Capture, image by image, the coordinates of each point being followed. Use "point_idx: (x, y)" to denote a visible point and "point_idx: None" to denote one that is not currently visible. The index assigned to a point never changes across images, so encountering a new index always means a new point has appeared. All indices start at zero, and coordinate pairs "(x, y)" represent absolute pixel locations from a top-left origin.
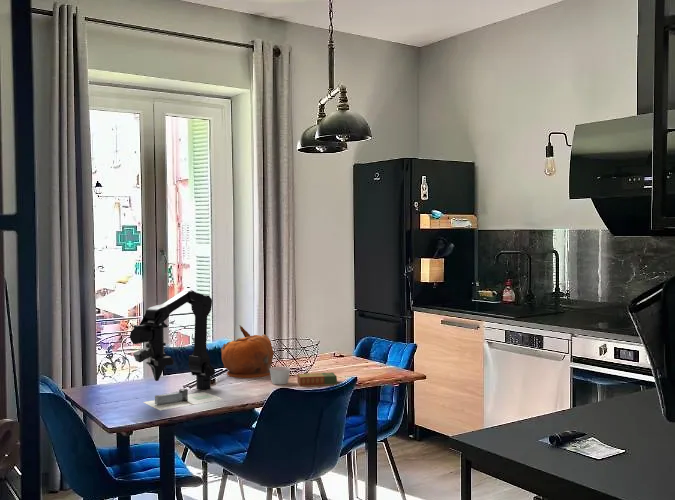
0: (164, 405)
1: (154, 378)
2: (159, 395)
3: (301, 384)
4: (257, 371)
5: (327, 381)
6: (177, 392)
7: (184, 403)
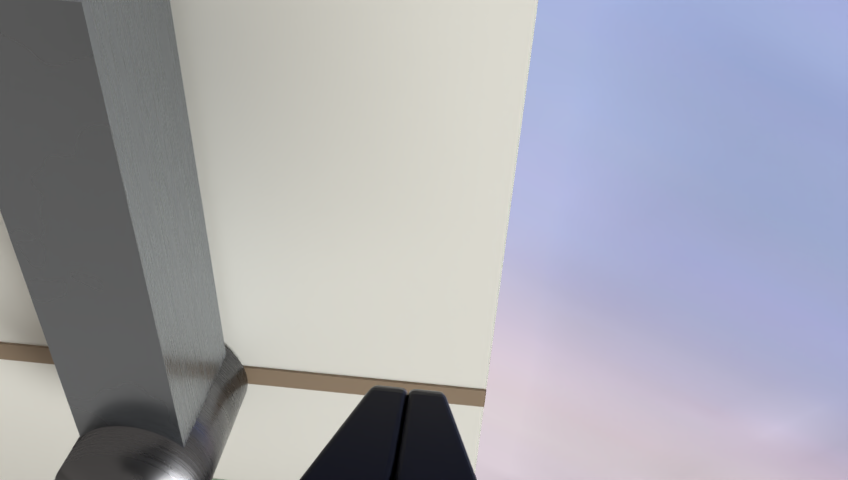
0: None
1: (447, 438)
2: (57, 95)
3: None
4: None
5: None
6: (148, 411)
7: (24, 308)
